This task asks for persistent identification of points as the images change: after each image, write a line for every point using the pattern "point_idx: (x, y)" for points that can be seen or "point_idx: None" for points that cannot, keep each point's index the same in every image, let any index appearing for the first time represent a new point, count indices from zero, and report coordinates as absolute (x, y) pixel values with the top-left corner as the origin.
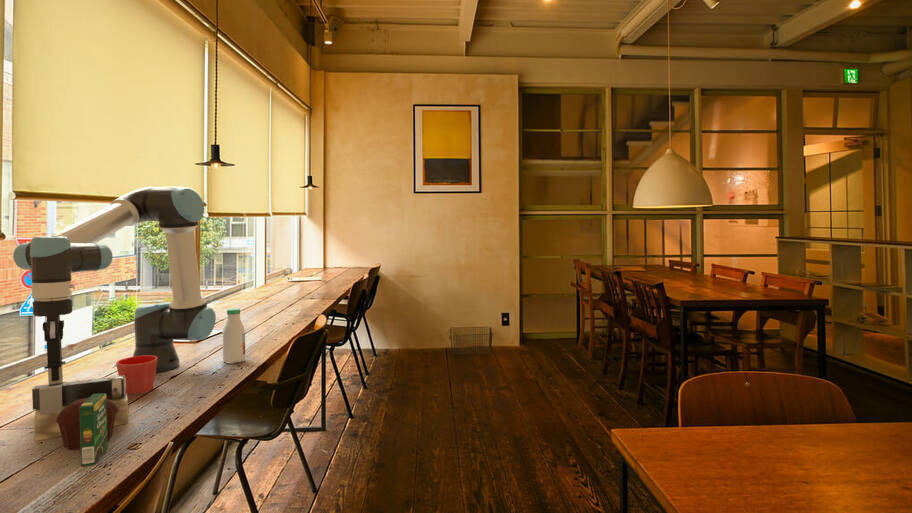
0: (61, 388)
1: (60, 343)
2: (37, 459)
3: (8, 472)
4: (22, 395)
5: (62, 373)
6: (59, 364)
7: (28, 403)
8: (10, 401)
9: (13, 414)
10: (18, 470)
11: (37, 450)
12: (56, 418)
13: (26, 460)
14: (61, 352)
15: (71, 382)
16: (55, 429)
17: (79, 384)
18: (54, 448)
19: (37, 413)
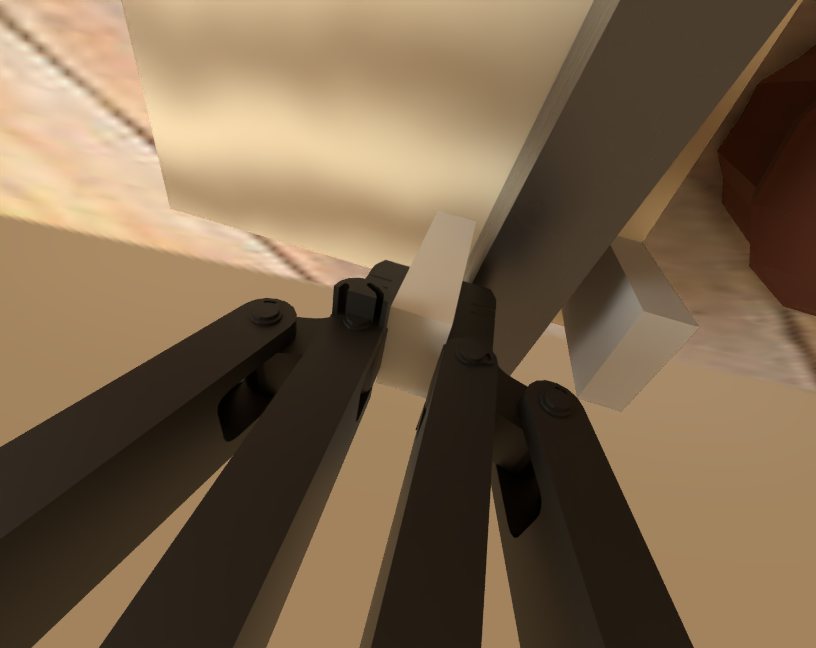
0: (692, 317)
1: (265, 588)
2: (779, 316)
3: (786, 383)
4: (21, 185)
5: (437, 275)
6: (580, 416)
7: (119, 192)
8: (81, 225)
9: (224, 250)
10: (808, 367)
11: (680, 294)
12: (798, 310)
13: (742, 335)
14: (224, 360)
15: (541, 210)
16: None
17: (658, 173)
18: (733, 255)
19: (557, 316)
